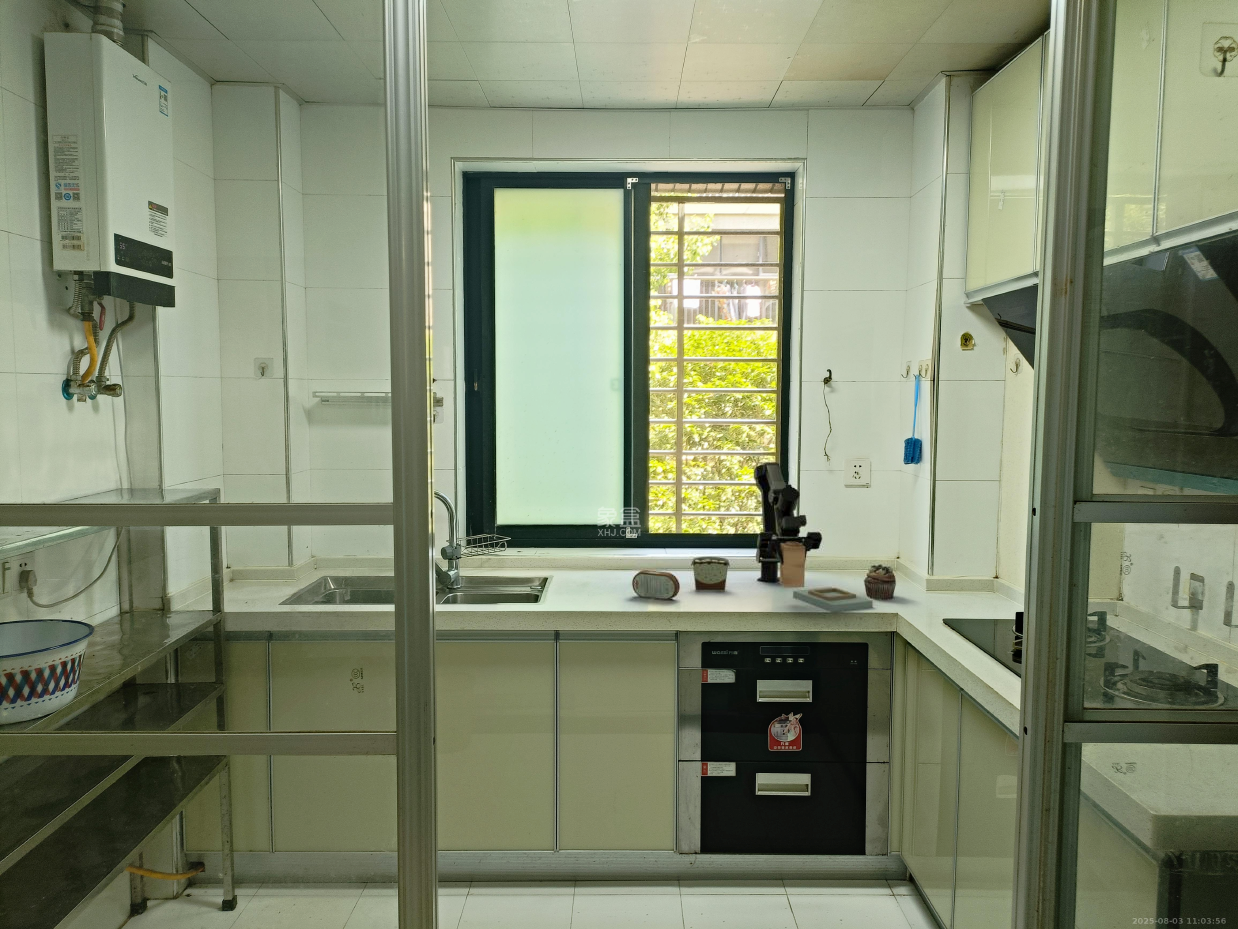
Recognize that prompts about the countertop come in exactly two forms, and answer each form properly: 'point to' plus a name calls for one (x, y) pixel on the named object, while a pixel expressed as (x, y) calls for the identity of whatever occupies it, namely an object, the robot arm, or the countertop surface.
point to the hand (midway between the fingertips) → (793, 564)
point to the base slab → (833, 599)
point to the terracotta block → (792, 564)
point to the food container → (710, 573)
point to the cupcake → (880, 582)
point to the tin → (655, 585)
